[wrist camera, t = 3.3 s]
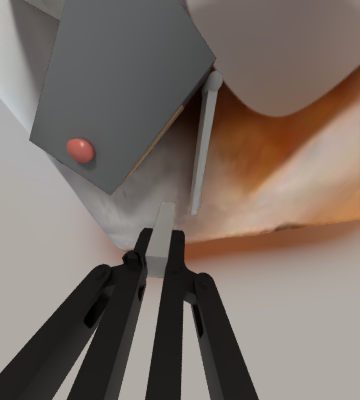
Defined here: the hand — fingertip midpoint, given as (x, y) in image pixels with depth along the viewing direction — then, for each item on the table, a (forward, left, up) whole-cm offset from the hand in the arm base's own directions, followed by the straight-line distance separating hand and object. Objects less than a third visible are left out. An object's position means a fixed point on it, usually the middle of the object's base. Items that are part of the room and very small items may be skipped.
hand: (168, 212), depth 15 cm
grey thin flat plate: (-6, 0, -12) cm, 13 cm away
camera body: (-3, -11, -12) cm, 17 cm away
